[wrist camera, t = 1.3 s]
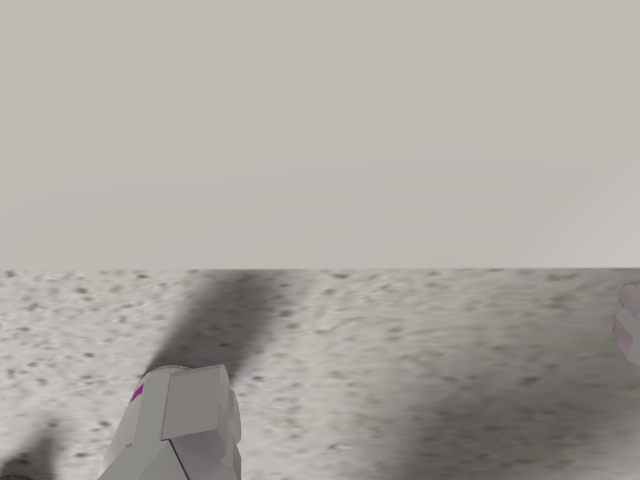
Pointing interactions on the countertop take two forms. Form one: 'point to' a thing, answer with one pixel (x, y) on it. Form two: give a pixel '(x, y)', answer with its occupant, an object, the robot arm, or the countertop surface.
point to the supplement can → (132, 418)
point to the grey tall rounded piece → (14, 477)
